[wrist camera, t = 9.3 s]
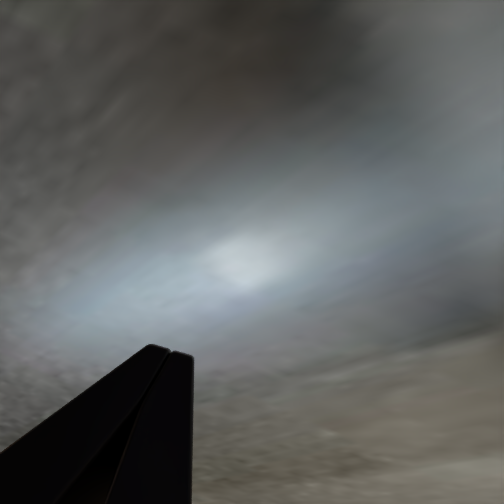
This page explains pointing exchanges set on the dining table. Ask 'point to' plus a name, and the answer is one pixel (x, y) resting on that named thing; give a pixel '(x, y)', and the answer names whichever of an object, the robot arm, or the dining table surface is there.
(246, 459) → the dining table surface
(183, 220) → the dining table surface
